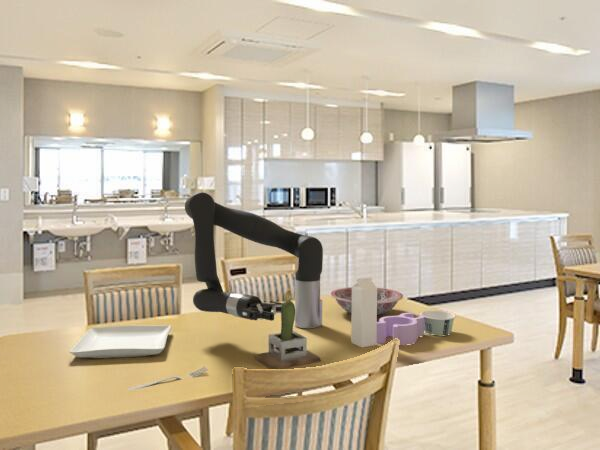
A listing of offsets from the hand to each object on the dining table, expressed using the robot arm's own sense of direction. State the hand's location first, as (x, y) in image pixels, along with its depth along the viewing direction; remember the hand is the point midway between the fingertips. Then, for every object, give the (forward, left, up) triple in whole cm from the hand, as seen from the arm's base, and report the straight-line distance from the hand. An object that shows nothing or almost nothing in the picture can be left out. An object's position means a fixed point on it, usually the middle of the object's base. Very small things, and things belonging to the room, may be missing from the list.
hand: (282, 314), depth 156 cm
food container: (-60, +3, -14) cm, 62 cm away
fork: (+36, +1, -14) cm, 39 cm away
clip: (-44, +2, -14) cm, 47 cm away
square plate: (+39, -34, -14) cm, 54 cm away
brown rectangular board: (-1, +2, -13) cm, 14 cm away
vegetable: (0, +2, -12) cm, 13 cm away
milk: (-30, +1, -14) cm, 33 cm away
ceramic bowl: (-55, -31, -14) cm, 64 cm away
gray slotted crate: (-1, +2, -13) cm, 14 cm away
